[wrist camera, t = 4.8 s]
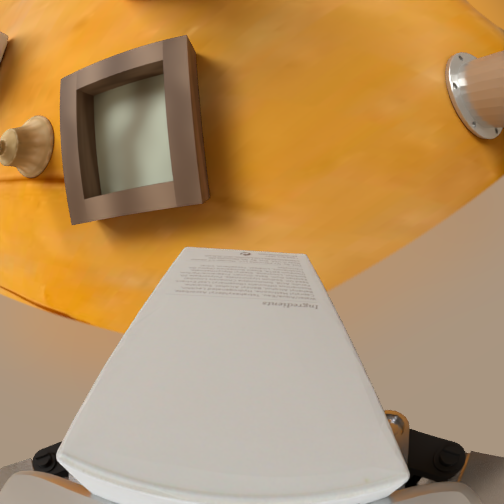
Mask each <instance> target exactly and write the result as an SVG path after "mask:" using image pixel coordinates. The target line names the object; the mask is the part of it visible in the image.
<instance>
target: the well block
mask: <svg viewBox="0 0 504 504" xmlns="http://www.w3.org/2000/svg"><path fill="white" fill-rule="evenodd" d="M60 132H61V150H62V162H63V171H64V180H65V187H66V194H67V201H68V207H69V212H70V218H71V223H72V225H76V224H81V223H86V222H91V221H96V220H101V219H107V218H112V217H118V216H124V215H129V214H135V213H141V212H148V211H154V210H161V209H167V208H174V207H181V206H189V205H196V204H203V203H204V202H205V201H206V200H208V199H209V198H210V193H209V185H208V177H207V169H206V160H205V151H204V142H203V132H202V122H201V112H200V101H199V89H198V77H197V64H196V52H195V50H194V48H193V46H192V44H191V42H190V41H189V39H188V37H187V35H184V36H180V37H175V38H171V39H167V40H163V41H159V42H155V43H152V44H148V45H145V46H141V47H138V48H135V49H132V50H129V51H126V52H123V53H120V54H117V55H115V56H112V57H109V58H107V59H104V60H102V61H99V62H97V63H94V64H92V65H90V66H87V67H85V68H83V69H81V70H79V71H76V72H74V73H72V74H70V75H68V76H66V77H64V78H62V79H61V88H60Z"/></svg>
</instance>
